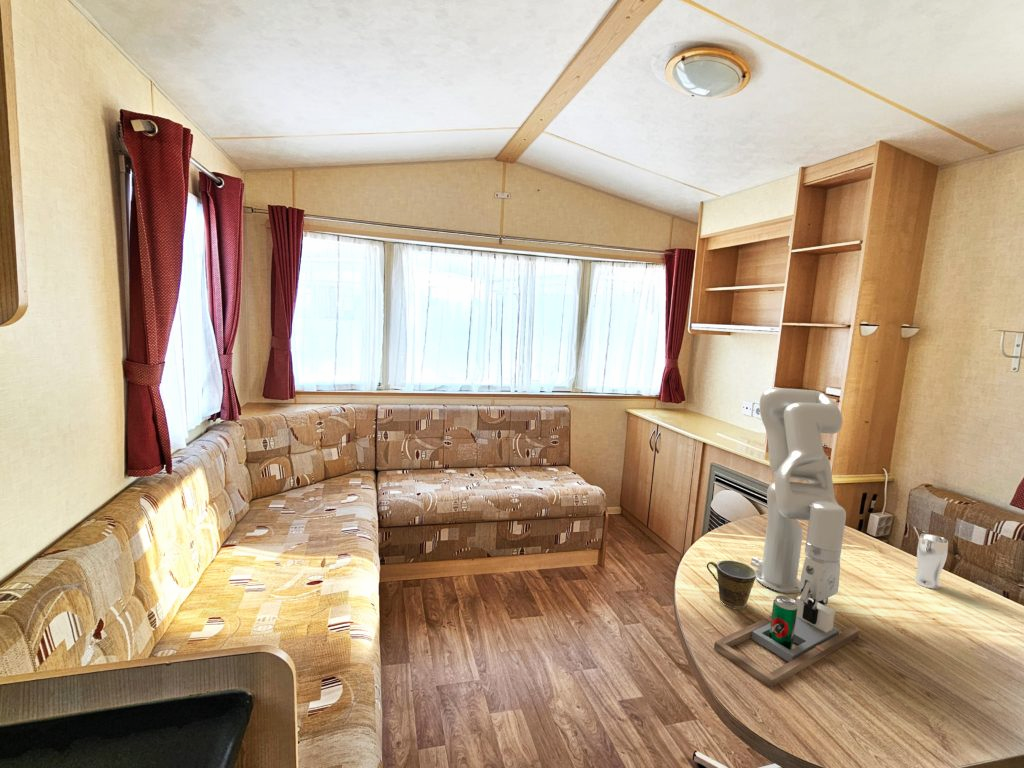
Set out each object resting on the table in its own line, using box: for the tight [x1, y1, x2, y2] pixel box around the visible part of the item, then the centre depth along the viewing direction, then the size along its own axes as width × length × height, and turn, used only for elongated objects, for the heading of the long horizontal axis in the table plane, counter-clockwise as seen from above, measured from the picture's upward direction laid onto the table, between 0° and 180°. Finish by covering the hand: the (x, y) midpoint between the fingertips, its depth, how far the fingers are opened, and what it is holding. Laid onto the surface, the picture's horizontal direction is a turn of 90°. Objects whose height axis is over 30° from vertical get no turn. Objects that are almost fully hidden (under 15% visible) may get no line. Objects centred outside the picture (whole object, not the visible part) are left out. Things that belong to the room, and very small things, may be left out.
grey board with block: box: [750, 595, 841, 663], centre depth 122 cm, size 10×21×7 cm, turn 121°
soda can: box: [769, 594, 797, 650], centre depth 118 cm, size 5×5×12 cm
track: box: [713, 614, 860, 688], centre depth 120 cm, size 14×38×2 cm, turn 121°
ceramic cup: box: [706, 559, 756, 610], centre depth 137 cm, size 13×10×10 cm
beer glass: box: [913, 533, 949, 590], centre depth 151 cm, size 7×7×15 cm
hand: (813, 618), depth 126 cm, fingers closed on grey board with block, 3 cm apart
